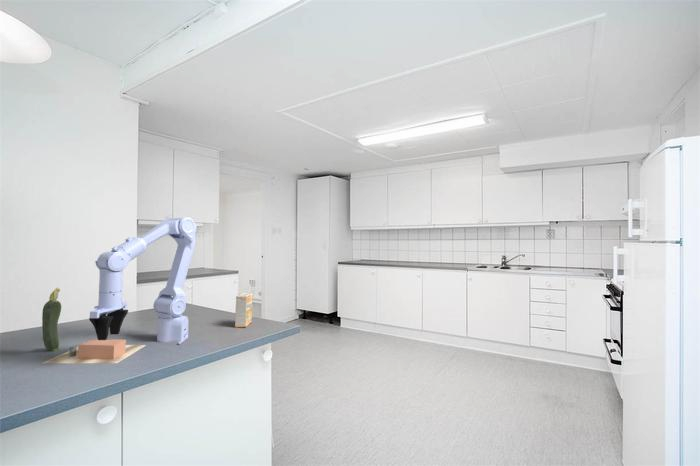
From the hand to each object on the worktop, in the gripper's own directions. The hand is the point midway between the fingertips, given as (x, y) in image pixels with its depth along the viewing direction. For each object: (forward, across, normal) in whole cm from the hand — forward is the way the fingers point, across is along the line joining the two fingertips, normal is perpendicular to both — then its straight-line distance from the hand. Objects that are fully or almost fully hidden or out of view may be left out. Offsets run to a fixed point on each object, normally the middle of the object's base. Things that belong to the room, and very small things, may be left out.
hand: (108, 336), depth 100 cm
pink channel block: (+6, 0, -2) cm, 6 cm away
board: (+6, -2, -4) cm, 8 cm away
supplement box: (+6, -39, +31) cm, 50 cm away
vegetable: (+7, -5, -20) cm, 22 cm away
